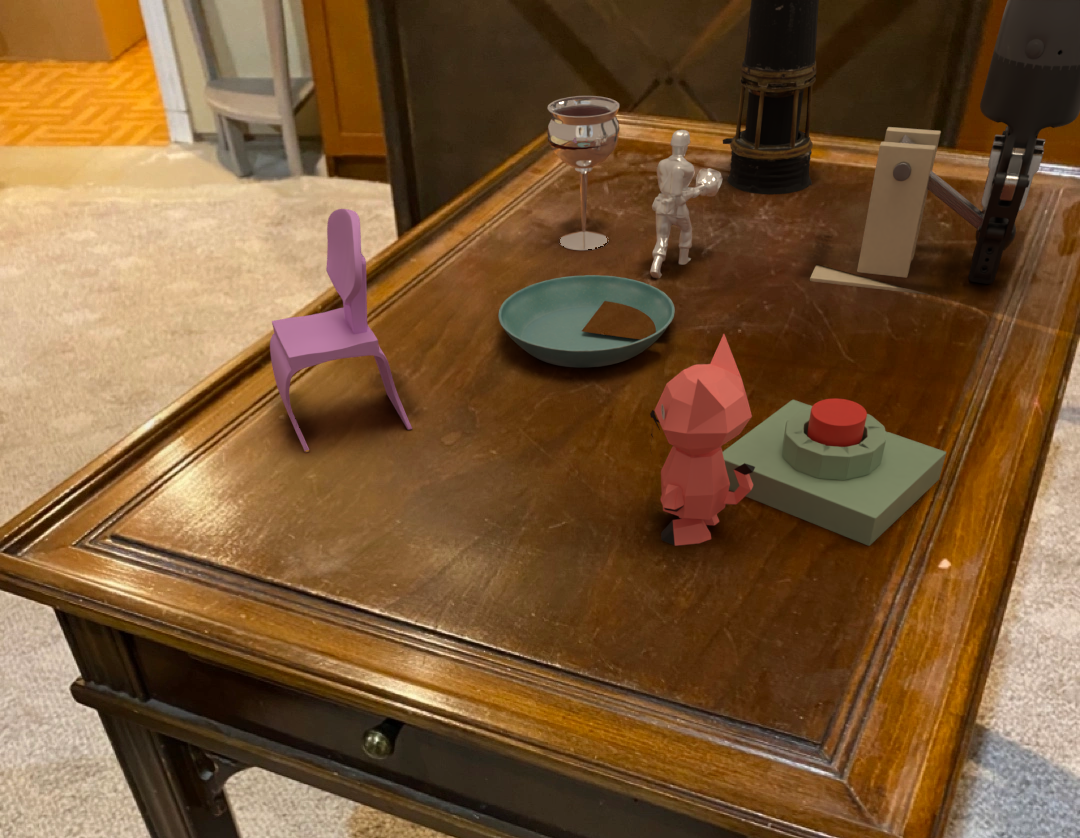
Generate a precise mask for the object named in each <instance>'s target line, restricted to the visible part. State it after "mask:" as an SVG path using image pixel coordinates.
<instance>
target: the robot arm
mask: <svg viewBox="0 0 1080 838" xmlns="http://www.w3.org/2000/svg"><path fill="white" fill-rule="evenodd" d="M1005 4H1006V5H1005V8H1004V11H1003V13H1002V18H1001V21H1000V25H999V29H998V32H997V37H996V41H995V45H994V48H993V53H992V56H991V59H990V60H991V61H990V64H989V68H988V72H987V75H986V79H985V84H984V88H983V91H982V96H981V99H980V102H979V108H980V112H981V113H982V115H983V116H984V117H985V118H986V119H988V120H990V121H992V122H994V123H1003V124H1005V125H1006V126H1005V130H1003V131H1002V134H995V135H994V138H993V142H992V147H991V150H990V153H989V158H988V164H987V167H988V173H987V175H986V180H985V184H984V187H983V193H982V195H981V196H982V197H981V202H980V204H981V206H982V210H981V211H982V212H983V213H984V216H983V220H982V224H981V226H979V228H978V232H977V233H979V235H978V238H979V239H978V242H977V243H976V242H975V246H974V250H973V253H972V256H971V257H972V258H971V263H970V268H969V272H968V276H967V278H968V280H969V282H971V283H976V284H985V285H990V284H993V283H994V282H995V280H996V277H997V274H998V269H999V267H1000V263H1001V259H1002V256H1003V254H1004V251H1005V250H1004V247H1005V243H1006V241H1009V239H1010V237H1012V235H1013V231H1014V230H1013V227H1014V224H1015V225H1016V220H1017V217H1018V214H1019V212H1021V211H1023V210H1024V208H1025V206H1026V202H1027V199H1028V196H1029V192H1030V190H1031V185H1032V182H1033V178H1034V176H1035V175H1036V174H1037V173H1038V171H1039V169H1040V166H1041V163H1042V160H1043V156H1044V152H1045V148H1044V147H1045V143H1046V139H1045V138H1038V137H1039V134H1040V132H1041V131H1042V130H1044V129H1046V128H1053V129H1055V128H1060V127H1065V126H1067V125H1069V124H1071V123H1073V122H1074V121H1075V120H1076V119H1077V118H1078V117H1079V115H1080V0H1007V2H1006V3H1005ZM992 217H1000V218H1007V219H1008V220H1007V223H1006V224H1000V223H992V222H989V220H990V218H992ZM1003 250H1004V251H1003Z"/></svg>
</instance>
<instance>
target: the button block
mask: <svg viewBox="0 0 1080 838" xmlns="http://www.w3.org/2000/svg"><path fill="white" fill-rule="evenodd" d="M812 406H813V405H810V404H807V403H804V402H801V401H800V400H799V401H798V400H796V399H792V400H790V401H788V402H787V403H786V404H784V405H783V406H782V407H781V408H778V410H776V411H775V412H774V413H772V414H771V415H770V416H769V417H767V418H766V419H764V420H763V421H762V422H761V423H759V424H758V425H757V426H755V427H753V428H752V429H751V430H749V431H748V432H747V433H746V434H744V435H743V436H742V437H741V438H739V439H737V440H736V441H735V442H734V443H733V444H731V445H730V446H728V447H727V448H726V449H724V450H722V452H723V457H724V461H725V466H726V470H727V474H728V477H729V481H730V486H729V491H730V492H735V491H736V489H737V488H738V487H739V483H738V480H737V478H736V475H735V472H734V469H735V468H737V467H739V466H740V465H742V464H744V463H746V464H748V465H751V466H754V467H755V469H754V471H753V472H752V473H749V475H750V478H751V480H752V483H753V487H752V489H751V491H750V492H749V493H748V494H747V495H746V496H745V498H749V499H751V500H753V501H756V502H758V503H761V504H763V505H765V506H769V507H771V508H774V509H776V510H778V511H781V512H783V513H786V514H788V515H791V516H792V517H796V518H798V519H801V520H804V521H806V522H808V523H810V524H813V525H816V526H818V527H821V528H823V529H824V530H825V529H826V530H828V531H831V532H833V533H835V534H838V535H841V536H843V537H846V538H848V539H850V540H853V541H855V542H858V543H860V544H863V545H865V546H867V547H870V546H872V544H874V542H875V541H876V540H878V539H879V538H880V537H881V536H882V534H884V533H885V532H886V531H887V530H888V529H889V528H890V527H891V526H892V525H893V524H894V523H895V522H896V521H898V519H899V518H900V517H902V516H903V514H905V512H907V511H908V510H909V509H910V508H911V507H912V506H913V505H914V504H915V503H916V502H918V500H920V498H921V497H922V496H923V495H924V494H926V493H927V492H928V491H929V490H930V489H931V488H932V487H933V486H934V485H935V484H936V483H937V482H938V481H940V478H941V474H942V470H943V467H944V463H945V460H946V457H947V451H946V450H942V449H940V448H939V449H938V448H936V447H933V446H930V445H927V444H924V443H921V442H918V441H916V440H913V439H909V438H907V437H904V436H901V435H898V434H895V433H893V432H889V431H886V427H885V425H883V424H882V423H881V422H880V421H879V420H878V419H876V418H875V417H874V416H873V415H871V414H869V413H867V417H866V422H865V427H864V432H863V436H862V440H861V442H860V443H859V444H856V445H852V446H848V447H836V446H826V445H823V444H821V443H818V442H815V441H812V440H811V439H810V438H809V437H808V435H807V431H808V425H809V419H810V413H811V408H812Z"/></svg>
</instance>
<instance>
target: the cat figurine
mask: <svg viewBox="0 0 1080 838" xmlns="http://www.w3.org/2000/svg"><path fill="white" fill-rule="evenodd" d="M649 415H650V418H652V419H653V421H654V423H655V424H656V426H657V428H658V430H659V431H660V434H661V433H662V432H661V429H662V431H663V434H664V435H665V438H666V440H667V443H668V444H669V445H671V446H672V447H671V448H670V451H669V453H668V455H667V457H666V459H665V461H664V464H663V465H662V467H661V469H660V485H661V486H660V487H661V488H660V490H661V496H660V502H661V506H662V511H663V512H665V513H667V514H671V515H674V516H677V517H678V518H677V519H672V520H671V521H670V522H669V524H667V526H666V527H665V528H664V529H663V530H662V531H661V532H660V537H661V539H660V540H661V541H663V542H664V543H668V544H670V545H672V546H686V545H695V544H697V545H698V544H701V543H704V542H707V541H710V540H712V533H711V531H710V530H709V528H708V526H716V525H717V524H719V523H720V519H719V517H718V514H719V513H721V511H723V510H725V509H726V505H738V504H739V503H740V502H741V501H742V500H743V499H744V498H746V495H747V494H748V493H749V492H750V491H751V489H752V487H753V483H752V480H751V478H750V475H749V473H752V472H753V471H754V469H755V467H754V466H751V465H748V464H746V463H744V464H742V465H740V466H739V467H737V468H735V469H734V472H735V475H736V478H737V480H738V483H739V487H738V488H737V489H736V491H735V492H733V491H731V490H729V486H730V481H729V477H728V474H727V470H726V466H725V461H724V457H723V448H722V447H723V446H724V445H725V444H727V443H728V442H730V441H731V440H733V439H734V438H736V437H738V436H739V435H740V434H741V433H742V432H743V431H744V429H745V427H746V426H747V424H748V423H749V421H750V420H751V419H752V417H753V415H752V412H751V407H750V403H749V400H748V395H747V392H746V389H745V386H744V382H743V379H742V376H741V373H740V371H739V369H738V366H737V363H736V360H735V358H734V355H733V352H732V350H731V347H730V345H729V342H728V340H727V337H726V334H725V333H723V334H722V337H721V339H720V341H719V344H718V345H717V348H716V350H715V352H714V355H713V357H712V359H711V361H710V363H701V364H700V363H699V364H697V363H696V364H693V365H691V366H688V367H687V368H685V369H683V370H681V371H680V372H679V373H677V374H676V375H675V376H674V377H672V379H670V380H669V381H668V382H666V384H665V386H664V388H663V390H662V393H661V395H660V397H659V400H658V401H657V404H656V406H655V407H654V409H652V410H651V412H650V413H649ZM659 424H660V426H659ZM660 427H661V429H660ZM651 429H654V426H652V428H651ZM653 433H654V431H653V430H651V431H650V436H651V438H654V436H653ZM652 440H653V439H651V440H650V443H652V442H653V441H652ZM649 447H650V449H649V450H650V454H651V455H653V454H652V451H651V448H652V446H649Z"/></svg>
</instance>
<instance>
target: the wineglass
mask: <svg viewBox="0 0 1080 838" xmlns="http://www.w3.org/2000/svg"><path fill="white" fill-rule="evenodd" d="M619 109H620V103H619V102H618V101H616V100H614V99H613V98H608V97H604V96H599V95H598V96H596V95H576V96H568V97H564V98H559V99H556V100H554V101H552V102H550V103H549V104H548V105H547V111H548V112H549V115H550V117H551V118H550V120H549V122H548V127H547V131H546V132H547V141H548V144H549V146H550V148H551V150H552V152H553V153H554V154H555V155H556V156H557V157H558V158H559V160H560V161H561V162H562V163H564V164H566V165H568V166H569V167H572V168H574V170H575V172H576V173H577V174H579V191H580V192H579V194H580V216H581V219H580V220H581V230H577V231H572V232H568V233H566V234H563V235H562V236H561V237H560V238H561V239H560V238H559V239H560V243H561V244H560V243H559V244H560V246H562V247H563V246H564V248H566V249H568V250H574V251H589V250H588V249H592V250H596V249H595V247H597V249H599V248H598V247H600V246H603V247H605V246H604V245H603V244H605V243H607V238H608V237H607V238H606V236H607V235H606V234H603V233H601V232H598V231H593V230H587V208H588V207H587V206H588V204H587V203H588V180H589V179H588V177H589V176H588V175H589V174H590V173H592V170H593V168H594V167H596V166H598V165H600V164H602V163H604V162H605V161H606V160H607V159H608V158H609V156H611V154H613V152H614V151H615V149H616V148H617V146H618V142H619V138H620V129H621V128H620V122H619V119H618V118H617V114H618V112H619ZM607 244H608V243H607Z"/></svg>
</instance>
